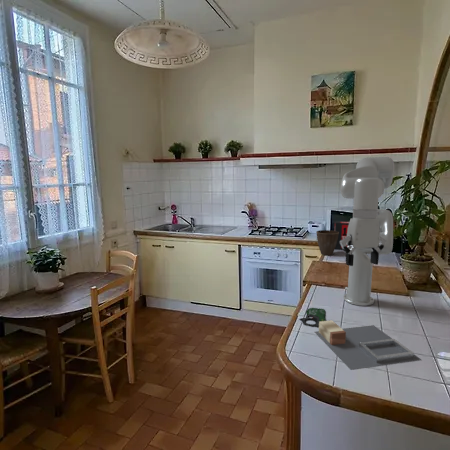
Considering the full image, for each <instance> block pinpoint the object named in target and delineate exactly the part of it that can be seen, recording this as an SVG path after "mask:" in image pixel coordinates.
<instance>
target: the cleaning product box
mask: <svg viewBox="0 0 450 450" xmlns="http://www.w3.org/2000/svg"><path fill="white" fill-rule="evenodd" d="M349 222H350V221H343V220H342V221H339V220H337V221H334V231H337V232H339V235H338V240H337V243H336V247H335V249H334V251H335V250H336V251H338V250H339V251H344V250H343V249H342V246H341V244H340V241H341V240H342V239H344V238H346V237H347V231H348V226H349ZM346 246H347V245H346ZM347 247H348V246H347Z"/></svg>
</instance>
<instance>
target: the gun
mask: <svg viewBox="0 0 450 450" xmlns="http://www.w3.org/2000/svg"><path fill="white" fill-rule="evenodd" d="M305 312H306V315H305V317H302V318H299V321H301V322H302V324H303V326H306V327H315V328H319V322H320V321H327V319H326V309H324V308H318V307H309V308H307V310H306V311H305ZM308 321H311V322H314V323H307V322H308Z"/></svg>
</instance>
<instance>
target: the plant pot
mask: <svg viewBox="0 0 450 450" xmlns="http://www.w3.org/2000/svg"><path fill="white" fill-rule="evenodd" d="M338 235H339V232H337V231H335V230H330V229H329V230H328V229H323V230H321V229H320V230H317V231H316V240H317V245H318V249H319V252H320V254H321V255H322V256H328V257H329V256H332V255H334V254H333V253H334V252H335V250H334V249H335V247H336V243H337V240H338Z"/></svg>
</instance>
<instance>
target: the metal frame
mask: <svg viewBox="0 0 450 450" xmlns="http://www.w3.org/2000/svg"><path fill="white" fill-rule="evenodd" d="M386 345H394V346H395V347H397V348H398V349H400V350H401V351H402V352H404V353H397V354H389V355H382V356H377V355H376V354H375V353H373V352H372V351H371V350H370V349H369V348H370V347H378V346H386ZM359 348H360V349H361V350H362V351H364V352H365V353H366V354H367V355H368V356H369V357H370V358H372V359H373V360H374V361H375V362H376V363H379V362H386V361H394V360H401V359H408V358H414V355H415V352H413V351H412V350H411V349H410V348H408V347H406V346H405V345H404V344H402V343H400V342H399V341H398V340H396V339H395V338H392V339H387V340H378V341H370V342H362V343H359Z"/></svg>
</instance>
